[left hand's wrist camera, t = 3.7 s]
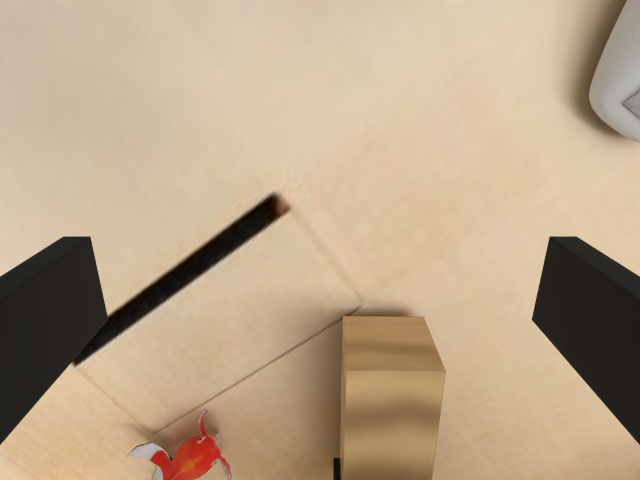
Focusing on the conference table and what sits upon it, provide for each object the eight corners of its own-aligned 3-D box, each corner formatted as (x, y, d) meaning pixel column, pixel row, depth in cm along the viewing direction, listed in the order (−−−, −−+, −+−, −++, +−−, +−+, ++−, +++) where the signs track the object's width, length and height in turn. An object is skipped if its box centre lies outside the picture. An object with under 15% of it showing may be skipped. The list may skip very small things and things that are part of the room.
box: (342, 315, 45) (346, 370, 36) (423, 316, 45) (446, 371, 36) (338, 483, 54) (341, 559, 45) (406, 484, 53) (421, 560, 45)
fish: (271, 485, 50) (208, 557, 41) (193, 480, 59) (128, 539, 50) (236, 401, 49) (166, 457, 41) (163, 409, 58) (94, 457, 50)
